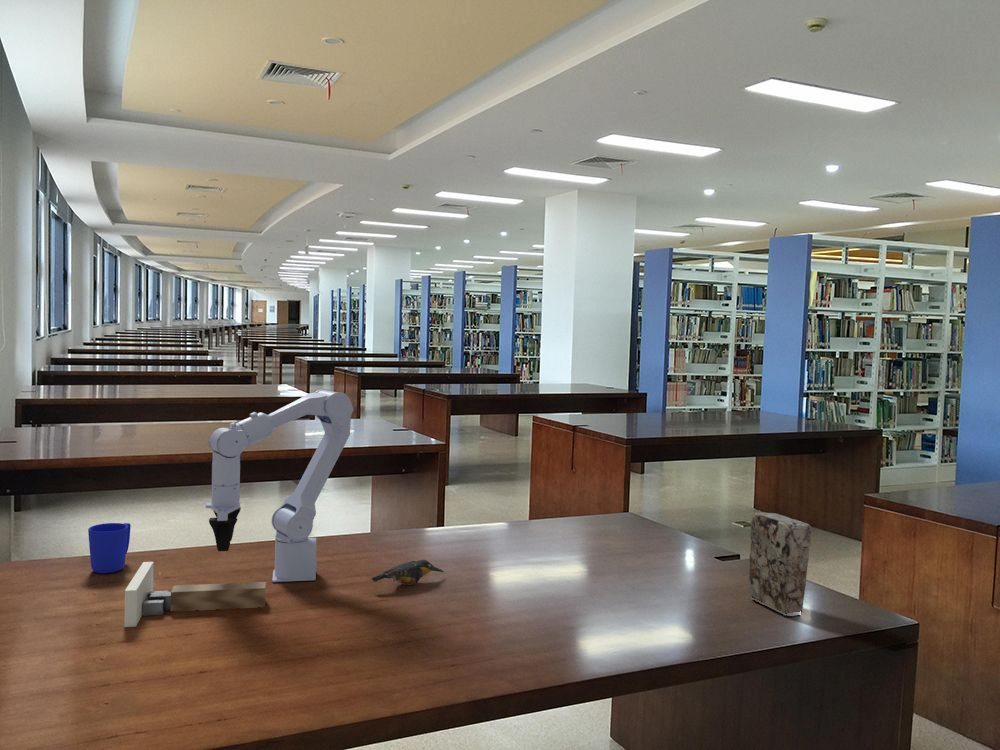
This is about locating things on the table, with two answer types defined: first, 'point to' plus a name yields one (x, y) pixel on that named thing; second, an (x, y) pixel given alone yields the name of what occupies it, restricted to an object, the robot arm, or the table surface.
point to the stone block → (779, 561)
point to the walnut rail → (213, 596)
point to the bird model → (408, 572)
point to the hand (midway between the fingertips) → (224, 545)
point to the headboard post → (141, 596)
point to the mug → (108, 546)
